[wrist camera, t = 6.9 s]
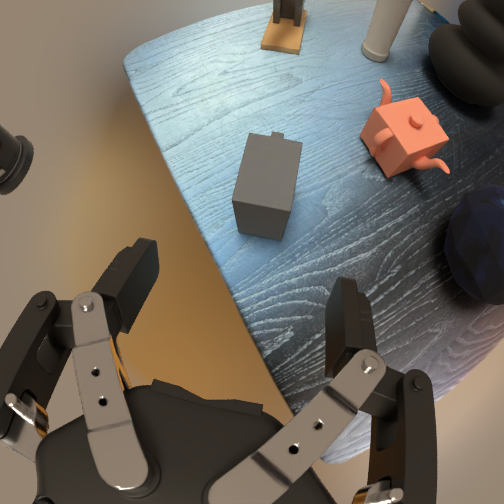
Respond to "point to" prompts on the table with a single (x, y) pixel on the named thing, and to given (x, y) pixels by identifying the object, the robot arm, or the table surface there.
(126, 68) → the table surface
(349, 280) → the robot arm
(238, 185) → the grey rectangular block
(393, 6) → the bottle
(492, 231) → the decorative orb
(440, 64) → the vase
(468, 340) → the table surface
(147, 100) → the table surface
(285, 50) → the stand
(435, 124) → the teapot
